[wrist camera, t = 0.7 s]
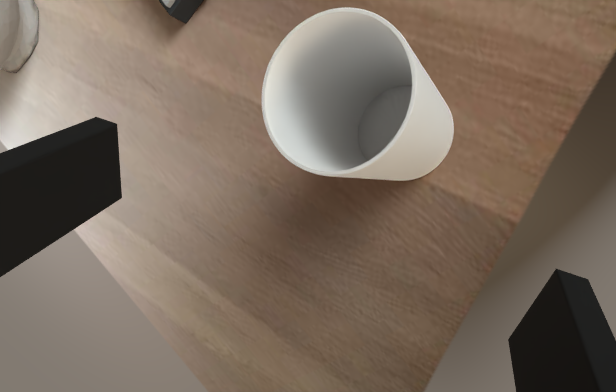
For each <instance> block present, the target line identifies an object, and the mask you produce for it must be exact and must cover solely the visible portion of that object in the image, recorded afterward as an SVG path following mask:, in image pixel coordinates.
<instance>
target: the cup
mask: <svg viewBox="0 0 616 392" xmlns="http://www.w3.org/2000/svg"><path fill="white" fill-rule="evenodd" d="M262 112H263V118H264V122H265V126H266V129H267V131H268V134H269V136H270V138H271V140H272V142H273V143H274V145H275V146H276V148H277V149H278V150H279V151H280V153H281V154H282V155H283V156H284V157H285V158H286V159H288V160H289V161H290V162H291V163H293V164H294V165H296V166H297V167H299V168H301V169H303V170H306V171H308V172H311V173H314V174H318V175H323V176H332V177H347V178H364V179H380V180H396V181H407V180H413V179H417V178H420V177H422V176H424V175H426V174H428V173H430V172H431V171H432V170H434V169H435V168H436V167H437V166H438V165H439V164H440V163H441V162H442V161H443V160H444V158H445V157H446V155H447V153H448V151H449V149H450V147H451V144H452V140H453V135H454V124H453V118H452V114H451V112H450V109H449V107H448V105H447V104H446V102H445V101H444V99H443V98H442V96H441V94H440V93H439V91H438V90H437V88H436V87H435V85H434V83H433V82H432V80H431V79H430V77H429V76H428V74H427V72H426V71H425V69H424V68H423V66H422V65H421V63H420V61H419V60H418V58H417V57H416V55H415V54H414V52H413V50H412V49H411V47H410V46H409V44H408V43H407V41H406V40H405V38H404V37H403V36H402V34H401V33H400V32H399V31H398V30H397V29H396V28H395V27H394V26H393V25H392V24H391V23H389V22H388V21H387V20H385V19H384V18H382V17H380V16H379V15H377V14H375V13H372V12H370V11H367V10H363V9H358V8H336V9H331V10H327V11H323V12H321V13H318V14H316V15H314V16H312V17H310V18H308V19H306V20H305V21H303V22H302V23H300V24H299V25H298V26H297V27H295V28H294V29H293V30H292V31H291V32H290V33H289V34H288V35H287V36H286V37H285V38H284V40H283V41H282V42H281V43H280V45H279V46H278V48H277V49H276V51H275V53H274V54H273V56H272V58H271V60H270V62H269V65H268V68H267V70H266V74H265V77H264V82H263V88H262Z"/></svg>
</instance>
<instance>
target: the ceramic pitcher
mask: <svg viewBox="0 0 616 392" xmlns="http://www.w3.org/2000/svg"><path fill="white" fill-rule="evenodd" d="M37 42H38V8H37V6H36V5H35V3H34V1H33V0H0V70H1V69H4V70H6V71H8V72H13V73H17V71H18V70H19V69H20V67H21V66H22V65H23V64H24V63H25V61H26V60H27V59H28V57H29V56H30V55H31V53H32V51H33V49H34V47H35V45H36V43H37Z"/></svg>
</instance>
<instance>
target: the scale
mask: <svg viewBox="0 0 616 392" xmlns="http://www.w3.org/2000/svg"><path fill="white" fill-rule="evenodd" d="M159 1H160V3H161V4H162V5H163V7H164V8H165V9H166V11H167V12H168V13H169V15H171V16H172V17H174V18H176V19H178V20H180V21H182V22H184V23H187V22H188V20H189V19H190V17H191V16H192V15H193V13H194V12H195V11H196V9H197V8H198V7H199V5H200V4H201V3H202V1H203V0H159Z"/></svg>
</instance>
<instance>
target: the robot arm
mask: <svg viewBox="0 0 616 392" xmlns="http://www.w3.org/2000/svg"><path fill="white" fill-rule="evenodd" d="M121 198H122V193H121V178H120V163H119V147H118V132H117V124H116V123H113V122H110V121H107V120H104V119H101V118H98V117H95V118H92V119H90V120H87V121H84V122H82V123H79V124H77V125H74V126H71V127H69V128H66V129H63V130H61V131H58V132H55V133H53V134H50V135H47V136H45V137H42V138H40V139H37V140H34V141H32V142H29V143H26V144H24V145H21V146H18V147H16V148H13V149H11V150H8V151H5V152H3V153H0V277H1V276H3V275H4V274H6V273H7V272H9V271H10V270H12V269H13V268H15V267H16V266H18V265H19V264H21V263H23V262H24V261H25V260H27V259H29V258H30V257H32V256H33V255H35V254H36V253H38V252H40V251H41V250H43V249H44V248H46V247H47V246H49V245H50V244H52V243H53V242H55V241H56V240H58V239H59V238H61V237H63V236H64V235H66V234H67V233H69V232H70V231H72V230H73V229H75V228H76V227H78V226H79V225H81V224H82V223H84V222H86V221H87V220H89V219H90V218H92V217H93V216H95V215H96V214H98V213H99V212H101V211H102V210H104V209H105V208H107V207H109V206H110V205H112V204H113V203H115V202H116V201H118V200H119V199H121ZM508 341H509V347H510V353H511V360H512V367H513V373H514V379H515V386H516V392H616V341H615V338H614V336H613V334H612V332H611V329H610V327H609V325H608V323H607V320H606V318H605V316H604V314H603V312H602V309H601V307H600V305H599V303H598V300H597V298H596V296H595V294H594V292H593V289H592V287H591V285H590V283H589V281H588V279H586V278H582V277H579V276H576V275H573V274H570V273H567V272H564V271H561V270H558V269H556V270H555V271H554V273H553V274H552V276H551V277H550V279H549V280H548V282H547V283H546V285H545V286H544V288H543V289H542V291H541V292H540V294H539V295H538V297H537V298H536V299H535V301H534V303H533V304H532V305H531V307H530V308H529V310H528V311H527V313H526V314H525V316H524V317H523V319H522V320H521V322H520V323H519V325H518V326H517V327H516V329H515V331H514V332H513V333H512V335H511V336H510V338H509V340H508Z"/></svg>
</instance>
